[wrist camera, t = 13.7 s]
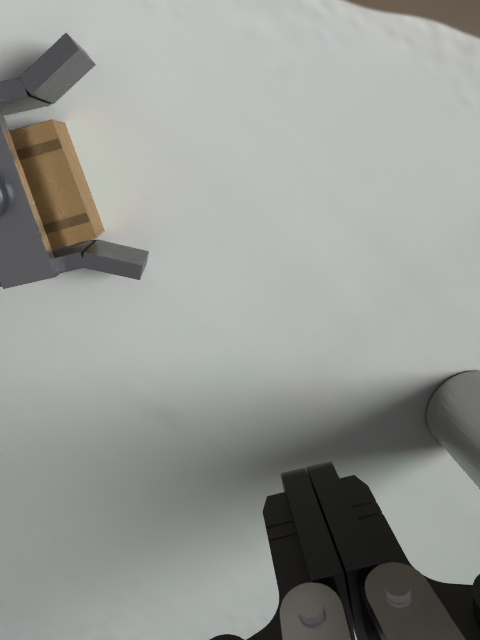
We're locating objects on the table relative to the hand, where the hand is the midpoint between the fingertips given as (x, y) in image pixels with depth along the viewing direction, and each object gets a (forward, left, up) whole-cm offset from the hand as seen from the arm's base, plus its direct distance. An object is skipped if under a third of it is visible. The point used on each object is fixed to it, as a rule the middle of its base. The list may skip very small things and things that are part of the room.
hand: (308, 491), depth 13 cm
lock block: (+14, -9, -31) cm, 36 cm away
